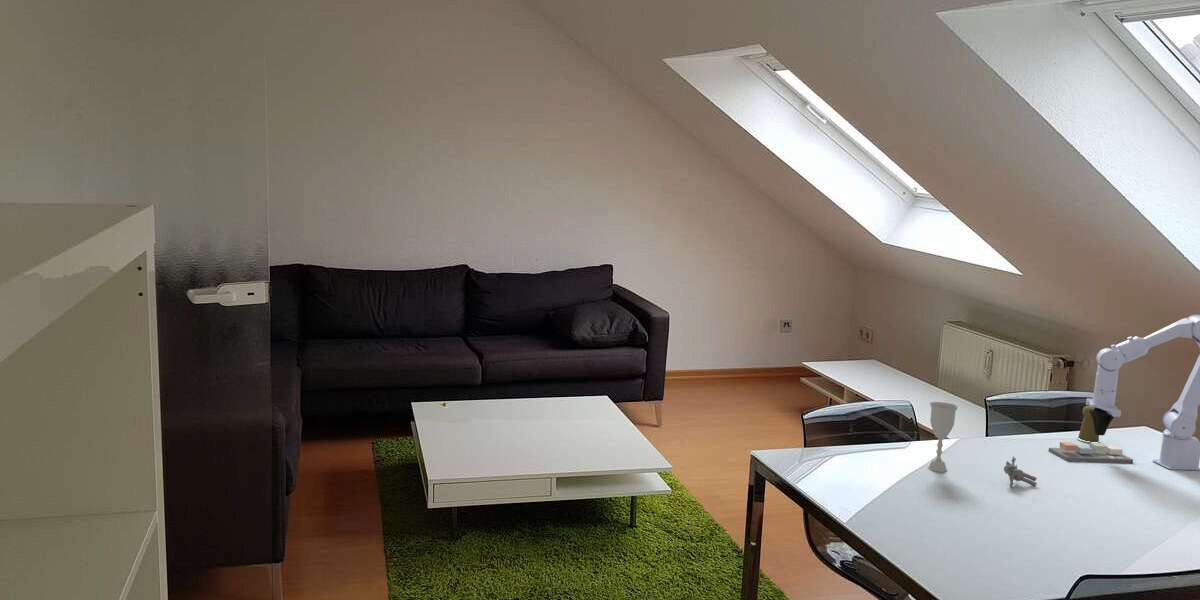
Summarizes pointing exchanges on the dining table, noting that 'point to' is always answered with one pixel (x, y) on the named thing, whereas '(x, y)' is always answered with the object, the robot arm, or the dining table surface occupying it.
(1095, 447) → the key sage
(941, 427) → the chalice
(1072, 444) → the key terracotta
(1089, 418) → the cork
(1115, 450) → the key cream
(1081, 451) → the key blue
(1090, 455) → the keypad base
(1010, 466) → the toy figurine
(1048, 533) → the dining table surface
